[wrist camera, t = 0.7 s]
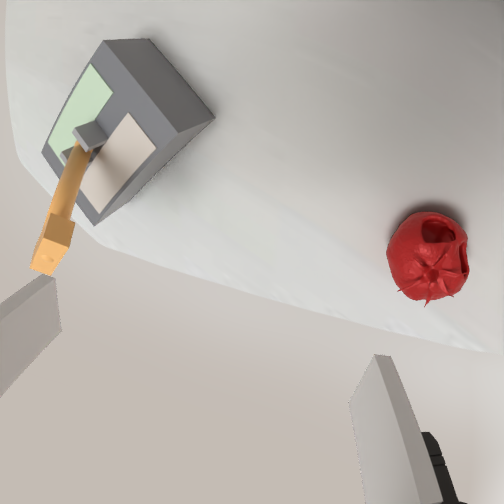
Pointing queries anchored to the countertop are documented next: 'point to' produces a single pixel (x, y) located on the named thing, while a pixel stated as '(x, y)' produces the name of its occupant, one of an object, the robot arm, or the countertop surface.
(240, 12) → the countertop surface
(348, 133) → the countertop surface
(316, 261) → the countertop surface
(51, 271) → the lever
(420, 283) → the pomegranate
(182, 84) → the box
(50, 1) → the countertop surface
